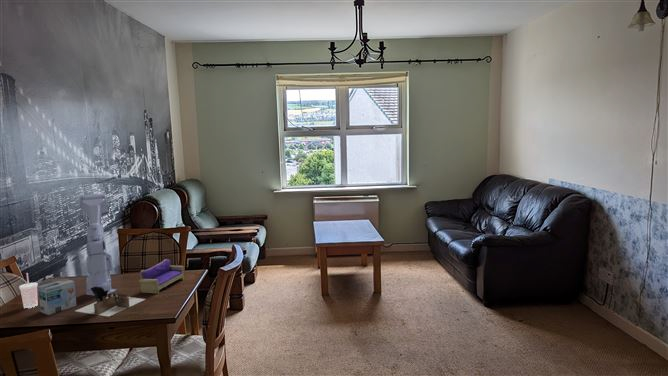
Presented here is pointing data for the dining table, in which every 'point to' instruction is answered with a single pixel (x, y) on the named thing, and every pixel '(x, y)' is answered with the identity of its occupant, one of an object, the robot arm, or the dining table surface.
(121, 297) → the fixed fence rail
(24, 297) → the beverage cup
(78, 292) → the dining table surface
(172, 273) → the toy sofa
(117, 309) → the card
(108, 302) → the fence flap
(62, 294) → the light bulb box
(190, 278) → the dining table surface
